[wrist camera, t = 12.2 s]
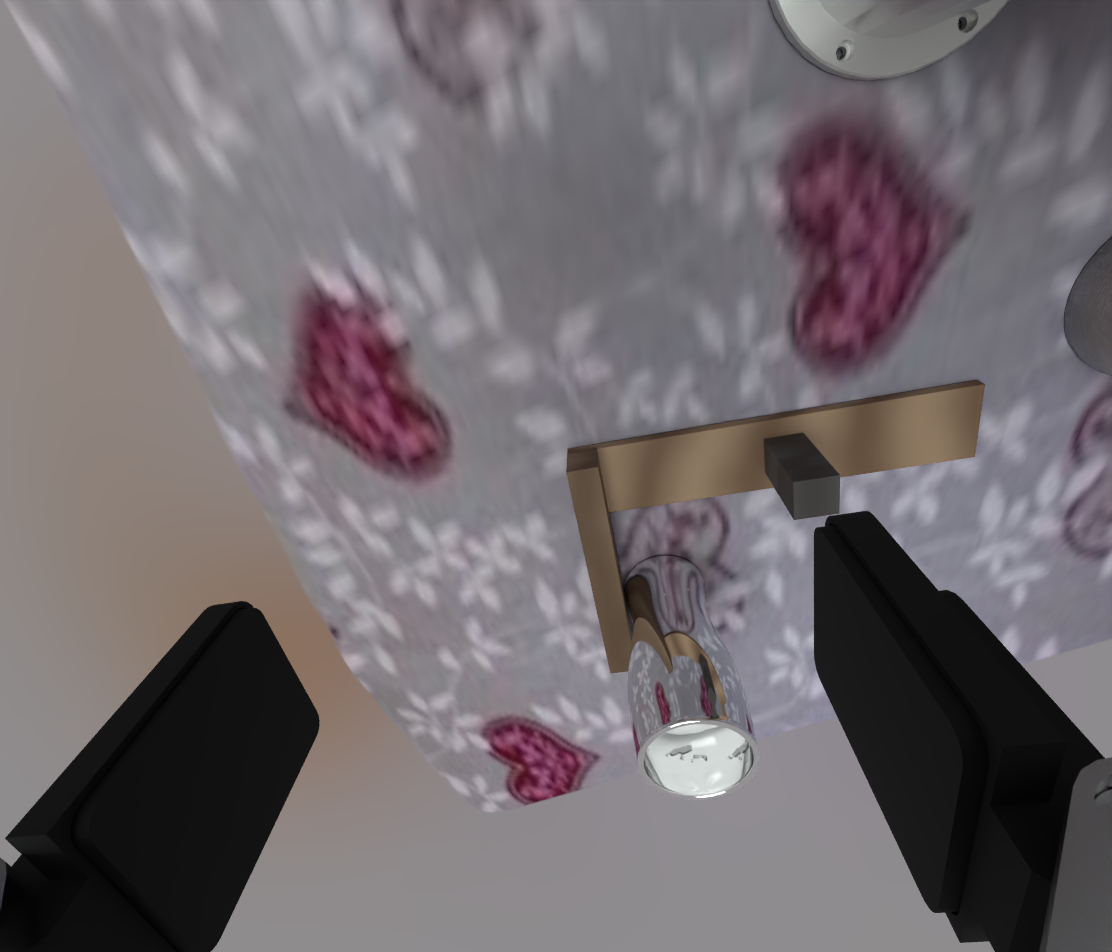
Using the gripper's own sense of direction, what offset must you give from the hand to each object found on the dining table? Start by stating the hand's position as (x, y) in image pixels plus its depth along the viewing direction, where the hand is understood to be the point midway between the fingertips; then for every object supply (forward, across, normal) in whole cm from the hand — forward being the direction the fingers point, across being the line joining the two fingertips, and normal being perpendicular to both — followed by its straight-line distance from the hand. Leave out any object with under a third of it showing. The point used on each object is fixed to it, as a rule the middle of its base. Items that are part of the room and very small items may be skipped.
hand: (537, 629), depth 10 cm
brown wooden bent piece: (+28, -11, +18) cm, 35 cm away
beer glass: (+28, -3, +22) cm, 36 cm away
